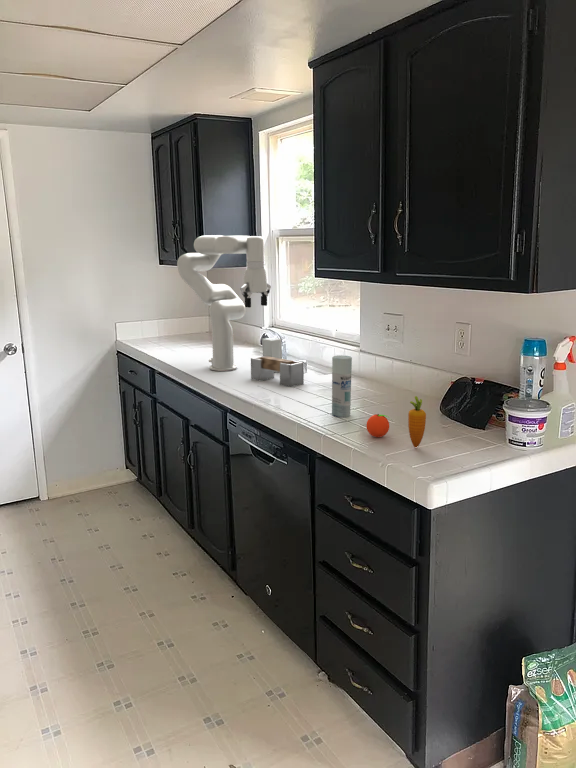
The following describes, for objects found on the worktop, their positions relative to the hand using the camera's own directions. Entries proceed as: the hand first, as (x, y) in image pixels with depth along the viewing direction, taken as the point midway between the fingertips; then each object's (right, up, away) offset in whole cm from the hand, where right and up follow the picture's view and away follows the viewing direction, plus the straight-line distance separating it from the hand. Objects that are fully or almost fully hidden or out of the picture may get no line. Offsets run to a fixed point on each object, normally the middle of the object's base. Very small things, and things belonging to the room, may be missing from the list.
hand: (256, 306), depth 278 cm
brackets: (+9, -32, -5) cm, 34 cm away
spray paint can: (+32, -44, -58) cm, 79 cm away
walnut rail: (+9, -27, -6) cm, 29 cm away
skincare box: (+7, -28, +17) cm, 33 cm away
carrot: (+50, -52, -93) cm, 118 cm away
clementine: (+41, -50, -82) cm, 104 cm away
